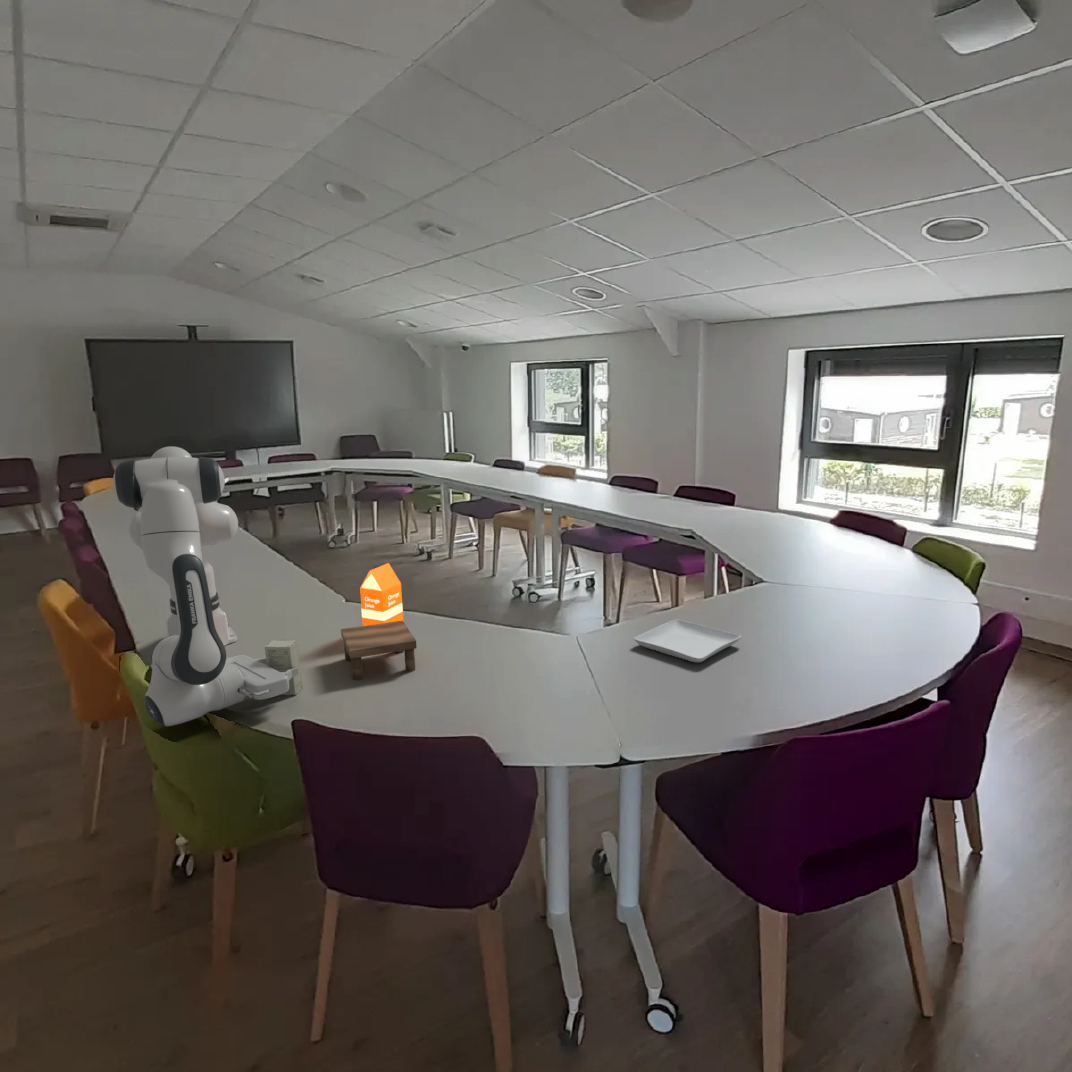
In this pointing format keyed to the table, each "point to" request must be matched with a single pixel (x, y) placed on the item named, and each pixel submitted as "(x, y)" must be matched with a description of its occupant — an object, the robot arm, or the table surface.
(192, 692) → the robot arm
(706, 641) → the salad plate
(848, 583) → the table surface
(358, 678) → the walnut stool
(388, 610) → the orange juice
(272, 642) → the skincare box
